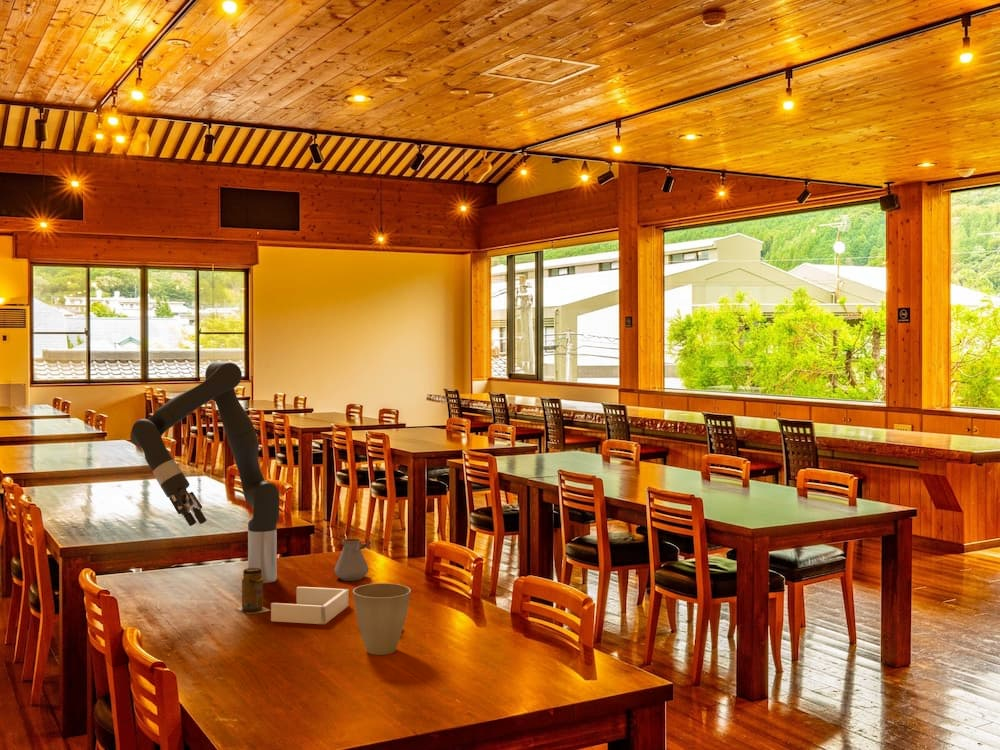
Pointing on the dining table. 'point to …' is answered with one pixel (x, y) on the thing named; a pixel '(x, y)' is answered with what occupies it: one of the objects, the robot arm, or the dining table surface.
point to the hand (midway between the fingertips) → (198, 523)
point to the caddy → (312, 606)
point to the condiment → (252, 591)
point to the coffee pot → (352, 561)
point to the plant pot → (381, 615)
